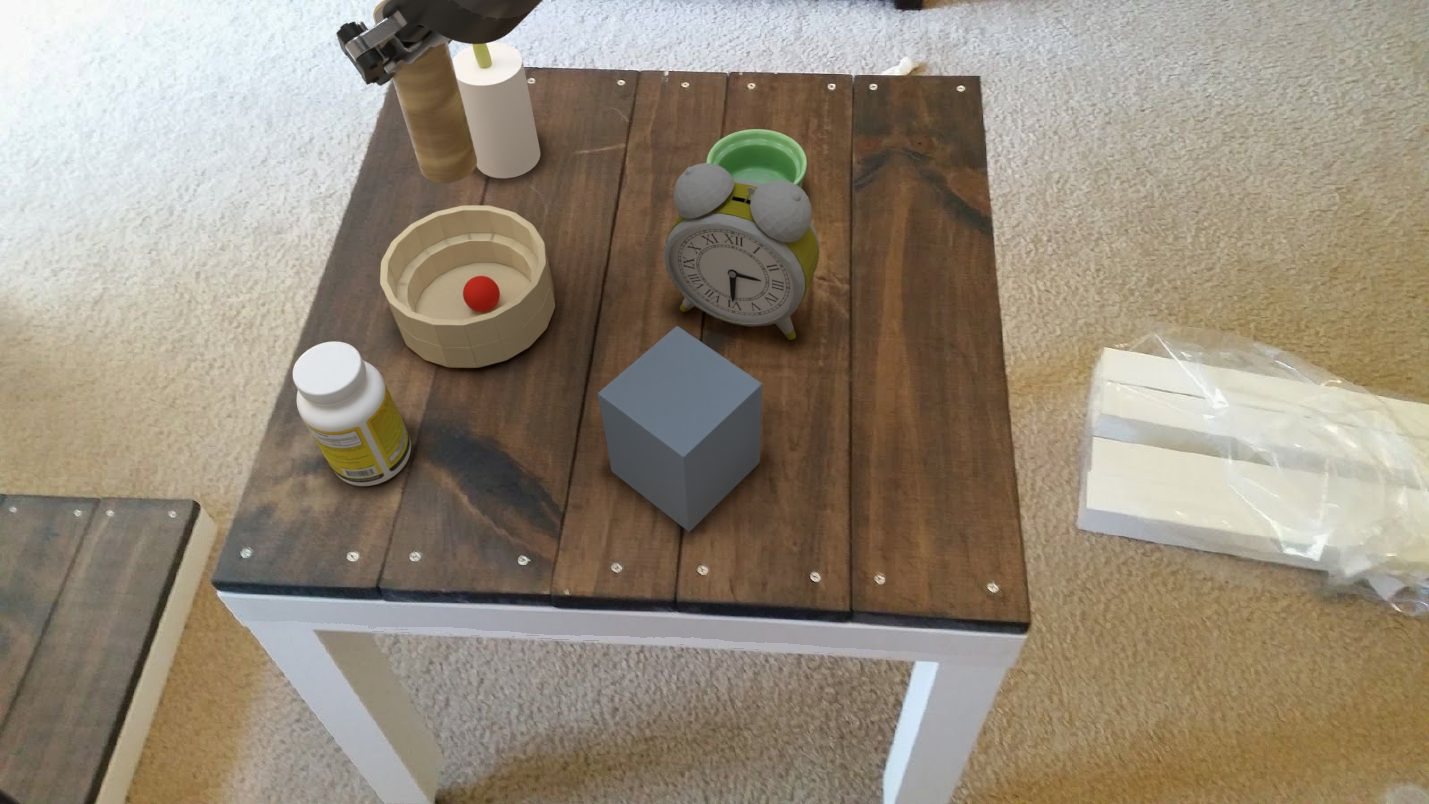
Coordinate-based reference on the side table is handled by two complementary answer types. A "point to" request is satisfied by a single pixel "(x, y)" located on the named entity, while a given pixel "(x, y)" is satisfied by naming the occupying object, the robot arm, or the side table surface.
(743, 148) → the ramekin
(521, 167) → the candle
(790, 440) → the side table surface
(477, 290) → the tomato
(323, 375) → the pill bottle
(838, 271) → the side table surface
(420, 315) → the bowl
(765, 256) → the alarm clock
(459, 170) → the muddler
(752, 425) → the upright slate-blue block
